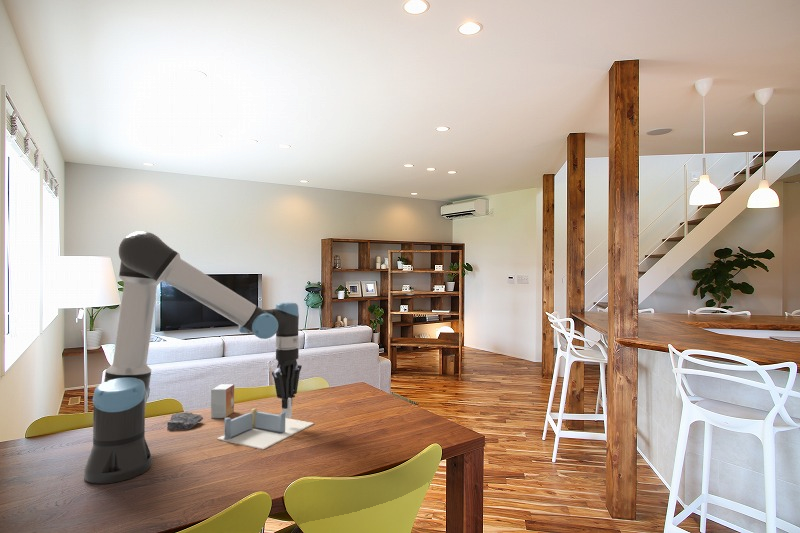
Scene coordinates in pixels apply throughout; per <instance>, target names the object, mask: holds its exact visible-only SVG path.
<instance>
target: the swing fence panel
mask: <svg viewBox="0 0 800 533" xmlns="http://www.w3.org/2000/svg"><path fill="white" fill-rule="evenodd" d="M251 413H252V427H257V428H262V429H267V430H273V431H278V432H285V412H283V411H282V412H280V413H279V414H276V413H270V412H263V411H258V410H257V408H256V407H255V408H251Z"/></svg>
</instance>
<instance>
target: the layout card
mask: <svg viewBox="0 0 800 533" xmlns="http://www.w3.org/2000/svg"><path fill="white" fill-rule="evenodd" d="M313 425H314V422H311V421H305V420H304V421H303V420H299V419H295V418H285V432H278V431H273V430H267V429H262V428H257V427H252V428H251V429H248V430H246V431H244V432H241V433H239V434H237V435H235V436H232V437H231V438H230V439H229V440H225V439H224V438H225V434H224V435H221V436H218V437H217V438H216V440H218V441H222V442H227V443H231V444H236V445H240V446H244V447H249V448H253V449H254V448H255V449H257V450H261V451H262V450H265V449H268V448H270V447H272V446H273V445H275V444H277V443H279V442H282V441H283V440H285V439H287V438H289V437H291V436H293V435H295V434H297V433H299V432H301V431H303V430H305V429H307V428H309V427H311V426H313Z"/></svg>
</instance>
